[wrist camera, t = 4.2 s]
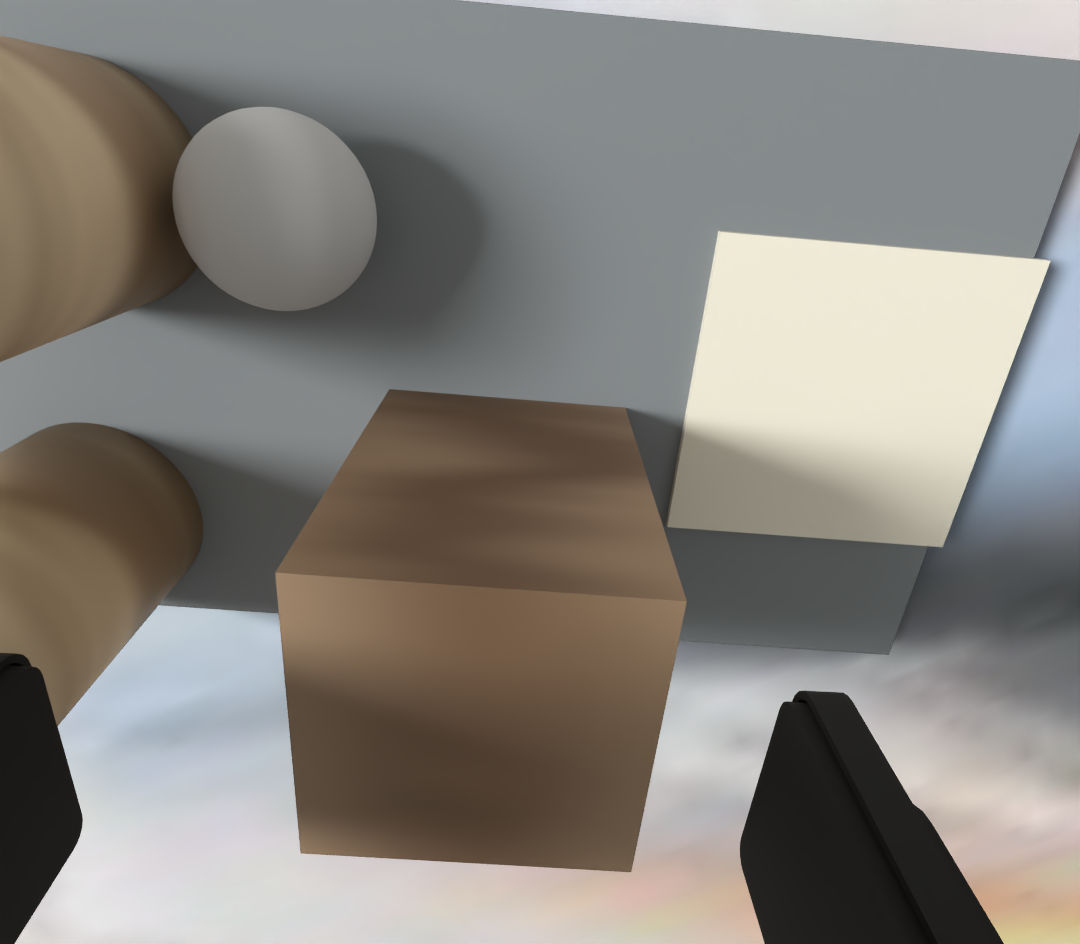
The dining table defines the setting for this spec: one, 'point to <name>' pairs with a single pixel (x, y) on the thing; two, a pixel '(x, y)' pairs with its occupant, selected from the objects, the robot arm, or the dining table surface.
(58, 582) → the cork stopper
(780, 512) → the mat
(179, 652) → the dining table surface
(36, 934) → the dining table surface
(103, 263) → the cork stopper
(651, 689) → the walnut block
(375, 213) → the grey ball
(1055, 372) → the dining table surface
